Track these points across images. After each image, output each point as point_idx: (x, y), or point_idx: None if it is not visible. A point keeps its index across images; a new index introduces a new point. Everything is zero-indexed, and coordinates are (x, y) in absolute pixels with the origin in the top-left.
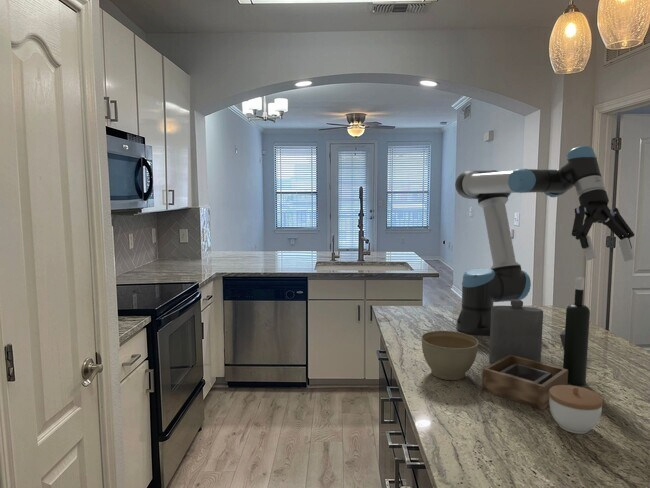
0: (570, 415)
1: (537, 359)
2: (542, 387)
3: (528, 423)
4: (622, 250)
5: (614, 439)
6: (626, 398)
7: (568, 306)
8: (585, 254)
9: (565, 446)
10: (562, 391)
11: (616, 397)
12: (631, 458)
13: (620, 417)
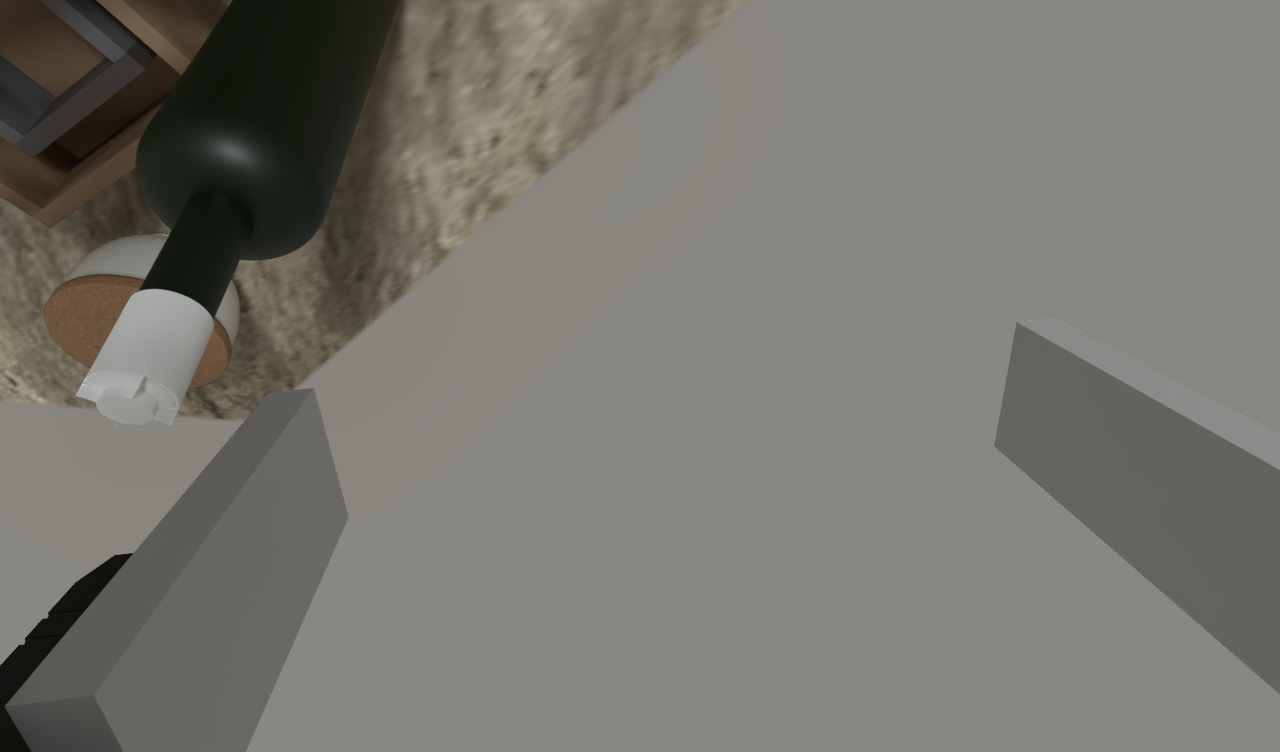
0: None
1: None
2: (46, 221)
3: (20, 228)
4: (1152, 420)
5: (276, 323)
6: (490, 148)
7: (140, 175)
8: (231, 455)
9: None
10: (93, 327)
11: (456, 134)
12: (274, 376)
13: (368, 246)
